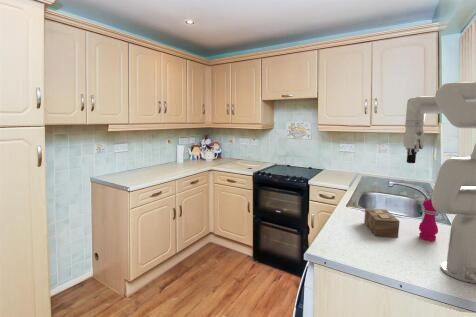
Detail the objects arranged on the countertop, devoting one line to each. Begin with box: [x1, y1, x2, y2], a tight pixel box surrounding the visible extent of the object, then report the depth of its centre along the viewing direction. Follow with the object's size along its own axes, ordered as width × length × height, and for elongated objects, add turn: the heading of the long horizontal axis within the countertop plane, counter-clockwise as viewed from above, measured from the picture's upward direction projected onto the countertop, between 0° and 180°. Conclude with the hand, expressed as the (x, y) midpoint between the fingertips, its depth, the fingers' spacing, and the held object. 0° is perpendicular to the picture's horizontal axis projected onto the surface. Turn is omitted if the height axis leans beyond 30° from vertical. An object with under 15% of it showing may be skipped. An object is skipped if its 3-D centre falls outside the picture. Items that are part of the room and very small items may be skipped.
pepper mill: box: [418, 195, 439, 242], centre depth 124 cm, size 7×7×20 cm
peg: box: [378, 215, 390, 219], centre depth 131 cm, size 4×4×8 cm
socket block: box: [363, 208, 400, 238], centre depth 134 cm, size 16×10×8 cm, turn 172°
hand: (410, 162), depth 132 cm, fingers closed
